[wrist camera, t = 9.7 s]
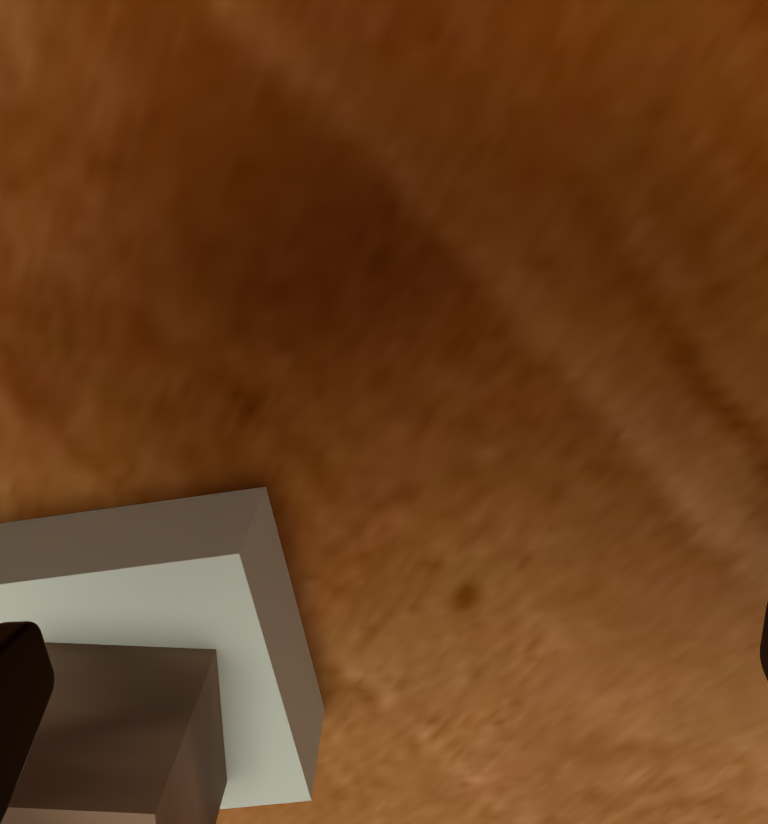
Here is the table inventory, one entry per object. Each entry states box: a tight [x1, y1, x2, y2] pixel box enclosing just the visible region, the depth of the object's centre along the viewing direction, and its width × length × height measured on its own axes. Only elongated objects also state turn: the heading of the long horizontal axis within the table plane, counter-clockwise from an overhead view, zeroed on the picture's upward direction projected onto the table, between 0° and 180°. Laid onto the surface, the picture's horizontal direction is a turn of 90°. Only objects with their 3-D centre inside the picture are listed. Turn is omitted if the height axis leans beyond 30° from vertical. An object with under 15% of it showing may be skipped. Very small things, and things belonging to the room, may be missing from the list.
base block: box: [0, 487, 324, 809], centre depth 22 cm, size 9×9×4 cm
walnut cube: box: [1, 642, 227, 824], centre depth 18 cm, size 5×5×5 cm
